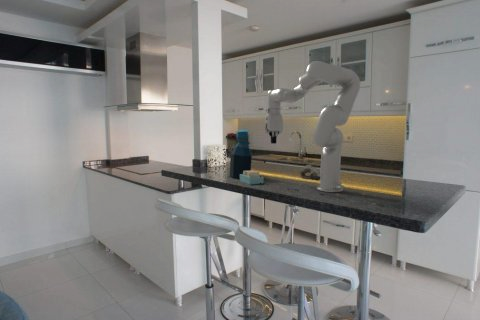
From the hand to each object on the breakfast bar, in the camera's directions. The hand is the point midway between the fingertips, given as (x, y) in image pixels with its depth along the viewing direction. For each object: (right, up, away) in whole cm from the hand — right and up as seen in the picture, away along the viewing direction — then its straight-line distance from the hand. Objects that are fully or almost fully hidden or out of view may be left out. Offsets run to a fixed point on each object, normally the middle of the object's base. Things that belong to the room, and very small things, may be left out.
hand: (273, 143), depth 178 cm
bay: (-13, -23, -3) cm, 26 cm away
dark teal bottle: (-19, -21, +17) cm, 33 cm away
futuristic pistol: (+25, -22, +9) cm, 34 cm away
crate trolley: (-13, -23, -3) cm, 26 cm away
